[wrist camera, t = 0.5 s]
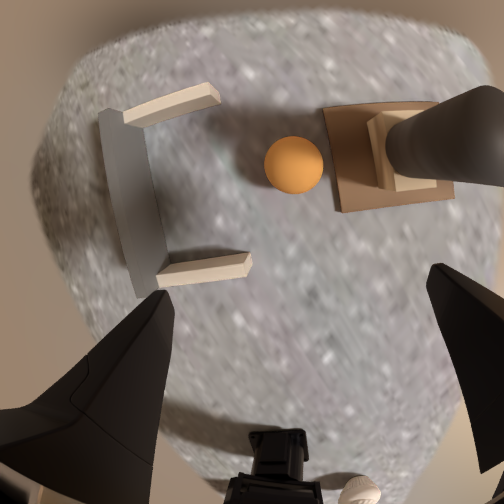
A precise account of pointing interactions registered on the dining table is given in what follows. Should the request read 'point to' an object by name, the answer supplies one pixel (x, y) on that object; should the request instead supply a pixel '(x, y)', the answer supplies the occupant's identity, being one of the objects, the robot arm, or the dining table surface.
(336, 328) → the dining table surface
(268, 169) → the ball
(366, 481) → the muffin
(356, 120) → the brown rectangular plate
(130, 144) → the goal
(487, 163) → the ball
